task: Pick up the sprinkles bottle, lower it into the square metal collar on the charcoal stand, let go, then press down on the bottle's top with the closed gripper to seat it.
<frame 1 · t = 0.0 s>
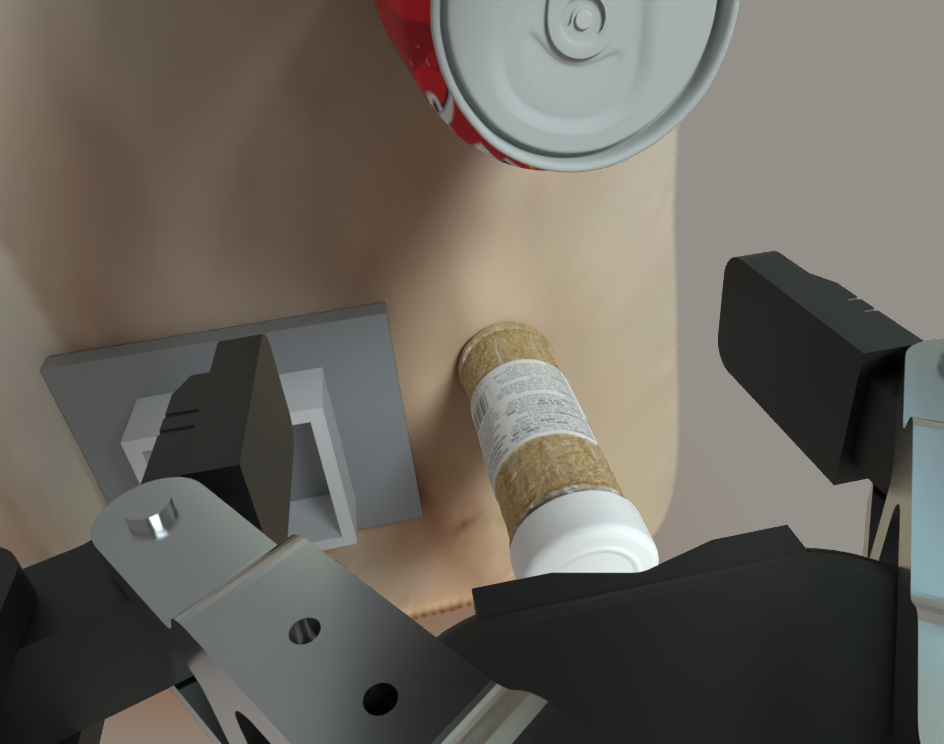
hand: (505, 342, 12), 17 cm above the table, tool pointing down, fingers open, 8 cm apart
bottle stand: (256, 439, 33), on the table
sprinkles bottle: (503, 357, 34), on the table
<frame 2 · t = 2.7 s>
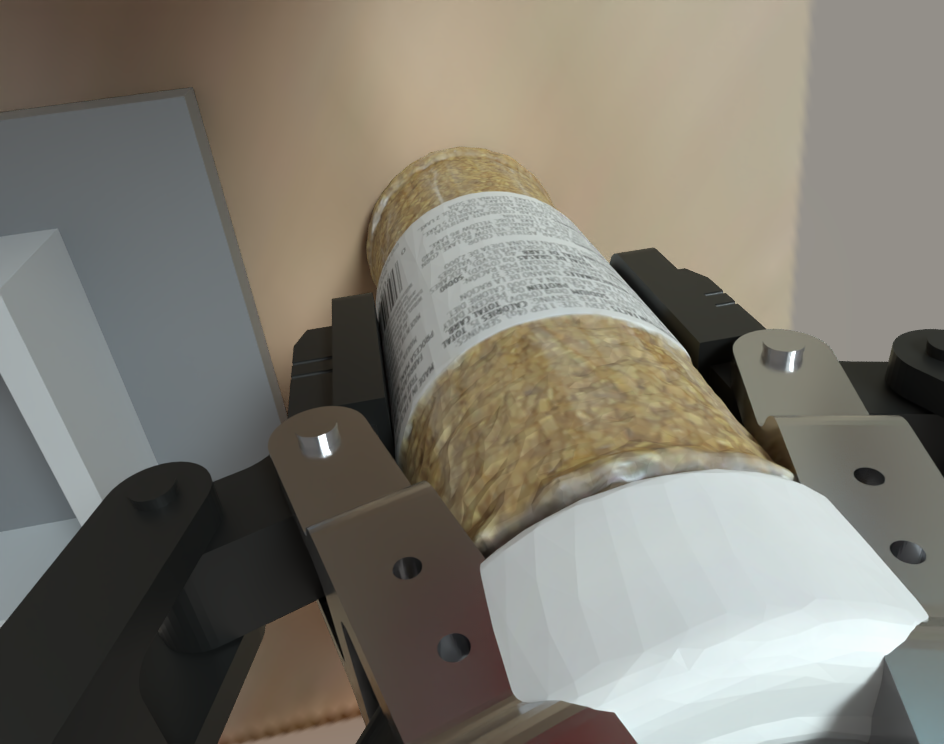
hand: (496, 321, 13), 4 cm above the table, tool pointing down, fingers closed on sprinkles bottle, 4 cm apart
sprinkles bottle: (459, 235, 17), on the table, touching gripper
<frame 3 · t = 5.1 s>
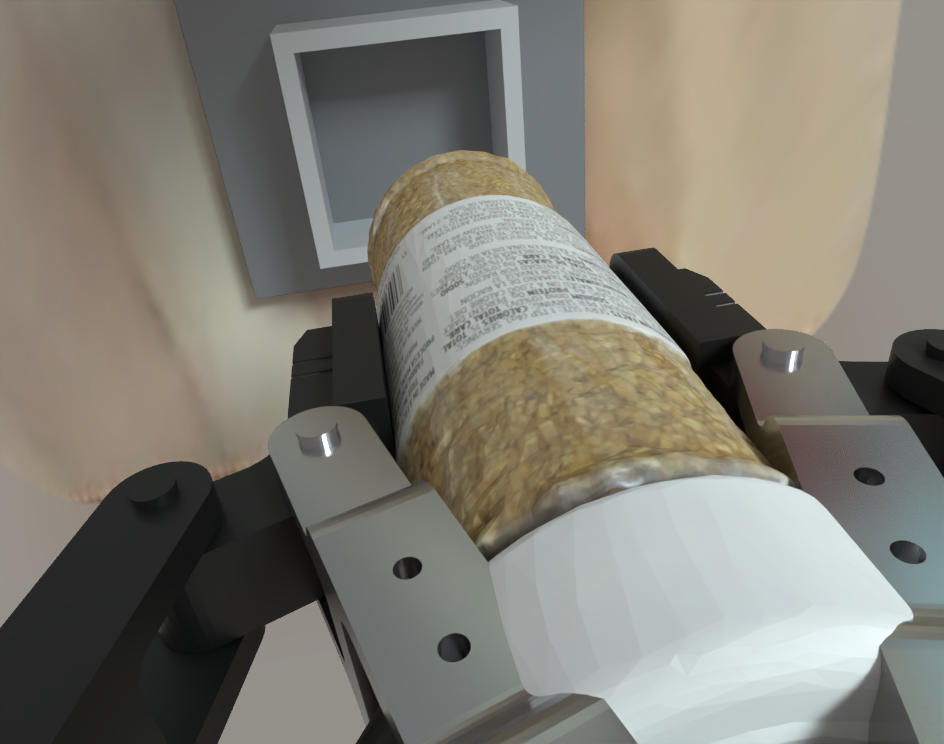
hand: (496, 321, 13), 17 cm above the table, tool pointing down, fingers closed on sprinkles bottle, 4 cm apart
bottle stand: (402, 121, 28), on the table
sprinkles bottle: (460, 237, 17), point 13 cm above the table, touching gripper
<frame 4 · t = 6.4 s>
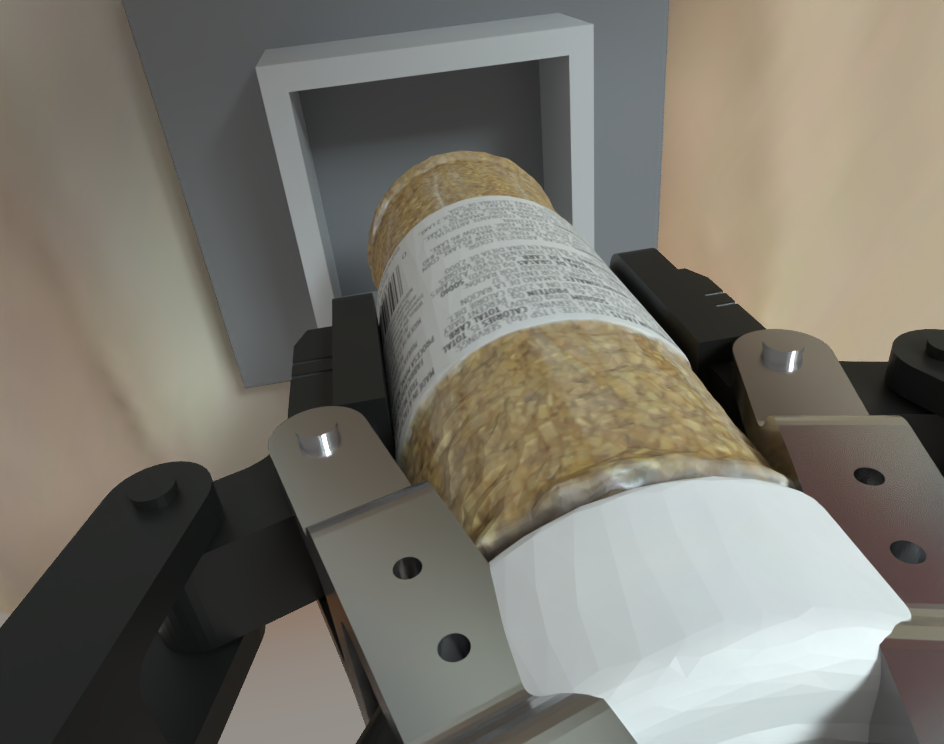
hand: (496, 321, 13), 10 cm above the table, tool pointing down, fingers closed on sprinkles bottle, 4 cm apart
bottle stand: (429, 167, 22), on the table
sprinkles bottle: (460, 238, 17), point 6 cm above the table, touching gripper
when the fingers open (7 cm above the table, at t = 7.4 s): sprinkles bottle drops 1 cm, resting on bottle stand.
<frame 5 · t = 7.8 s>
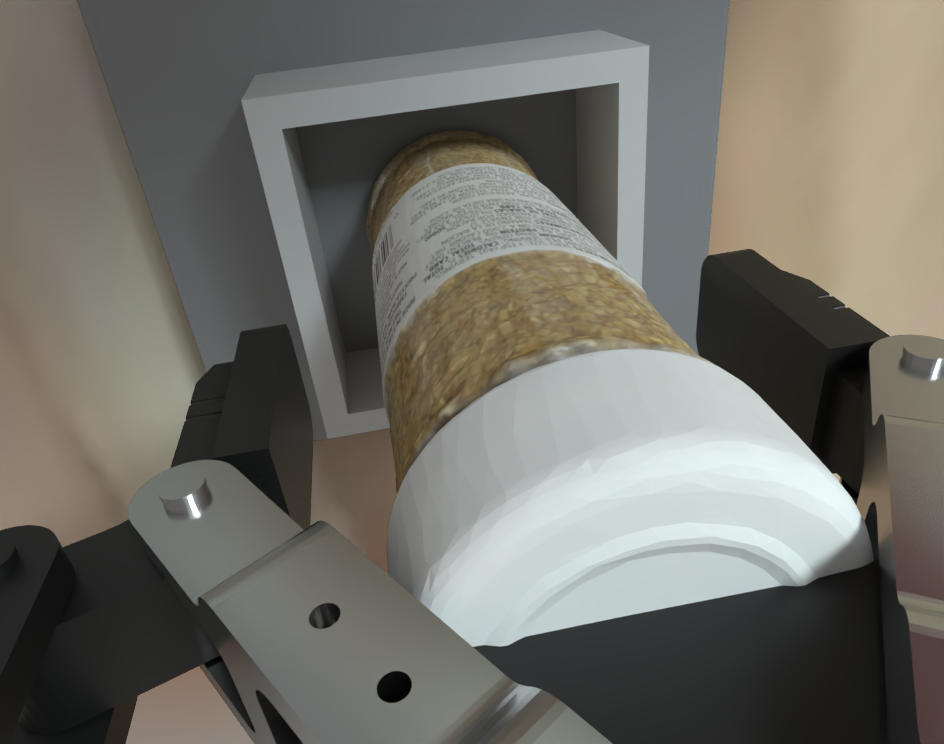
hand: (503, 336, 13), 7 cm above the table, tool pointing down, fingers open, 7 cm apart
bottle stand: (445, 206, 19), on the table
sprinkles bottle: (453, 215, 18), point 1 cm above the table, touching bottle stand
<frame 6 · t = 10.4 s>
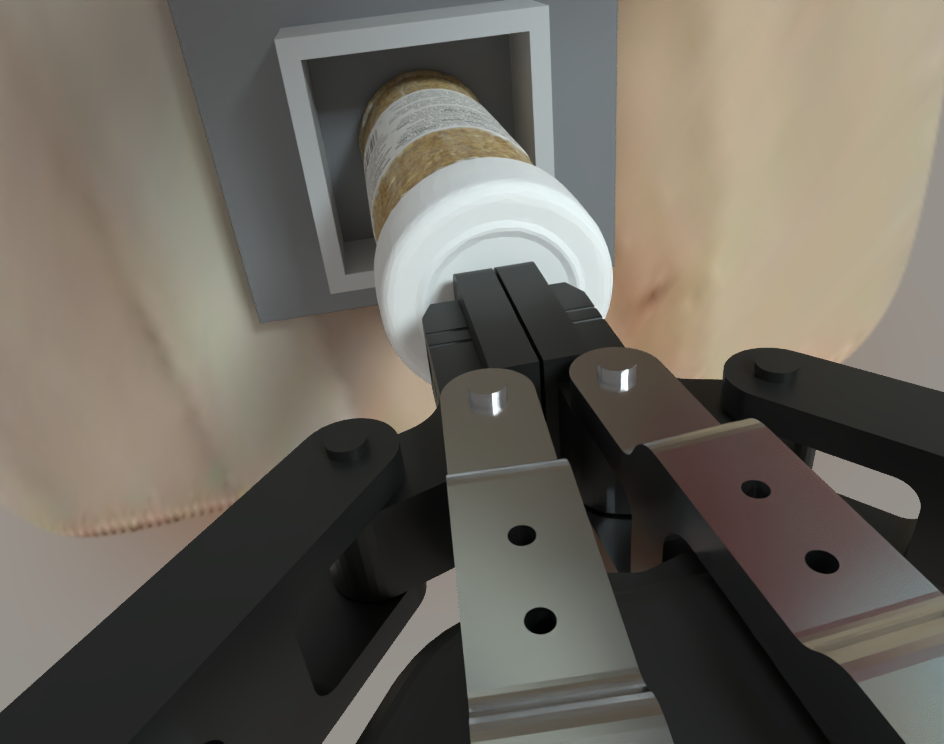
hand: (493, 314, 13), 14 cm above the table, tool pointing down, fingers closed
bottle stand: (418, 131, 25), on the table
sprinkles bottle: (422, 134, 25), point 1 cm above the table, touching bottle stand, gripper
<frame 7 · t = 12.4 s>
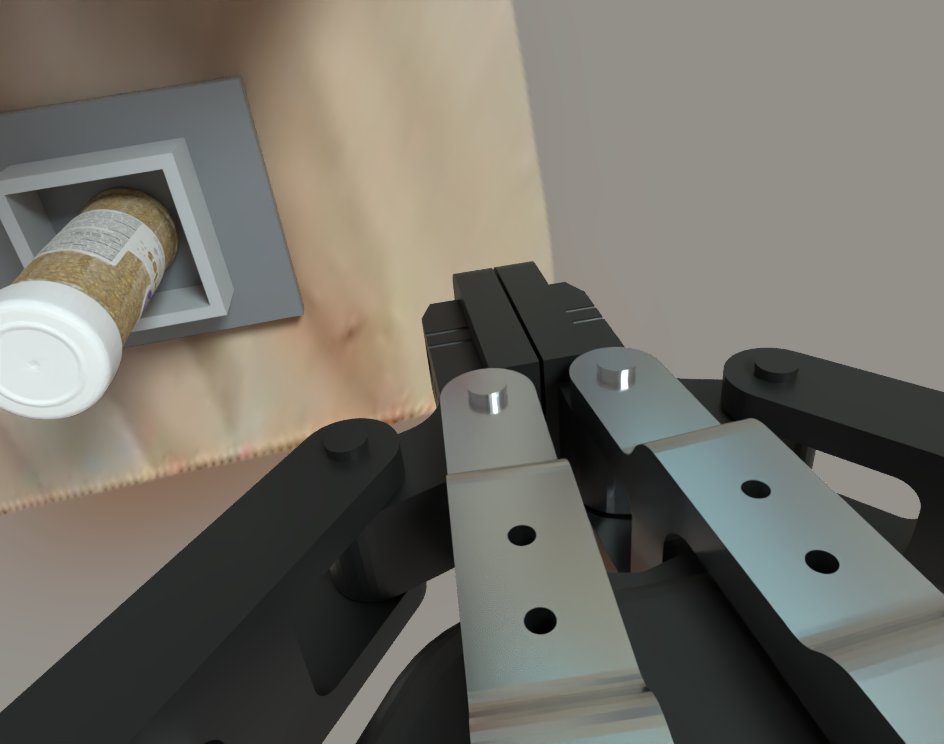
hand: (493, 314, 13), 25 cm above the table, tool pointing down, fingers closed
bottle stand: (134, 225, 36), on the table
sprinkles bottle: (132, 229, 35), point 1 cm above the table, touching bottle stand
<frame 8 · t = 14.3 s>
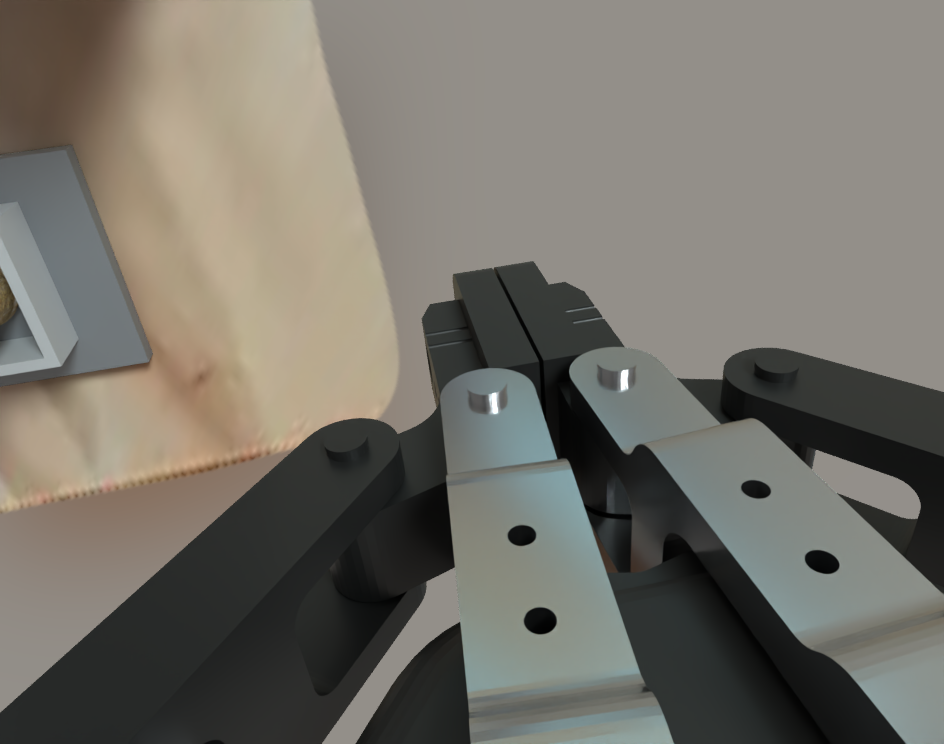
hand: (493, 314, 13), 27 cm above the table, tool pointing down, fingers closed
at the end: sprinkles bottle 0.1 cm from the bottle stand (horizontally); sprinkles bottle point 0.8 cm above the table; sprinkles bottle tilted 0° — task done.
